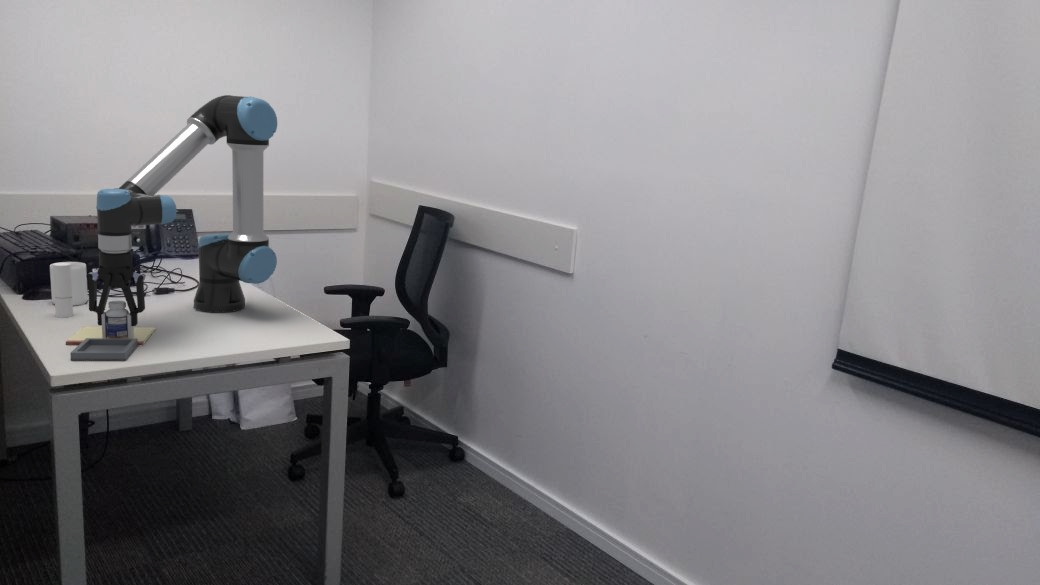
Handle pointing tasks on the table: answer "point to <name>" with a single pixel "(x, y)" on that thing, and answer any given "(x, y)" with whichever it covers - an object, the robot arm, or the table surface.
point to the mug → (74, 283)
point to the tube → (63, 289)
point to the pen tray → (104, 349)
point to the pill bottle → (117, 320)
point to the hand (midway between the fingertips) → (118, 337)
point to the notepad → (96, 332)
